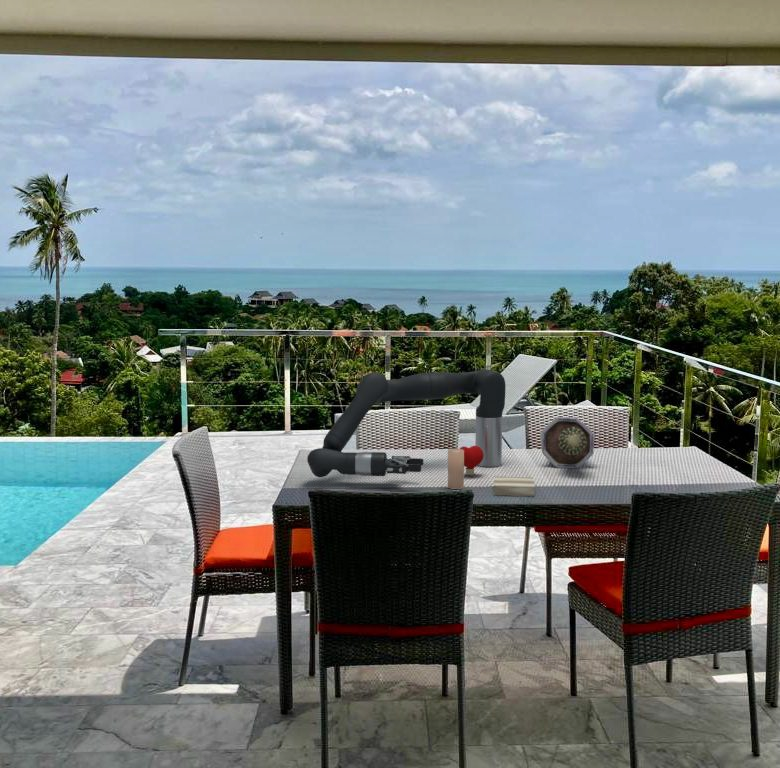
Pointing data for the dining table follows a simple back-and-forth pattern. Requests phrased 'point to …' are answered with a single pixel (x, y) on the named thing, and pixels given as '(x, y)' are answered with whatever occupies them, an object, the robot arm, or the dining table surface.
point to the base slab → (514, 486)
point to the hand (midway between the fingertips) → (422, 465)
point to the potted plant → (567, 442)
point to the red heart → (472, 458)
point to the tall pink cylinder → (455, 468)
